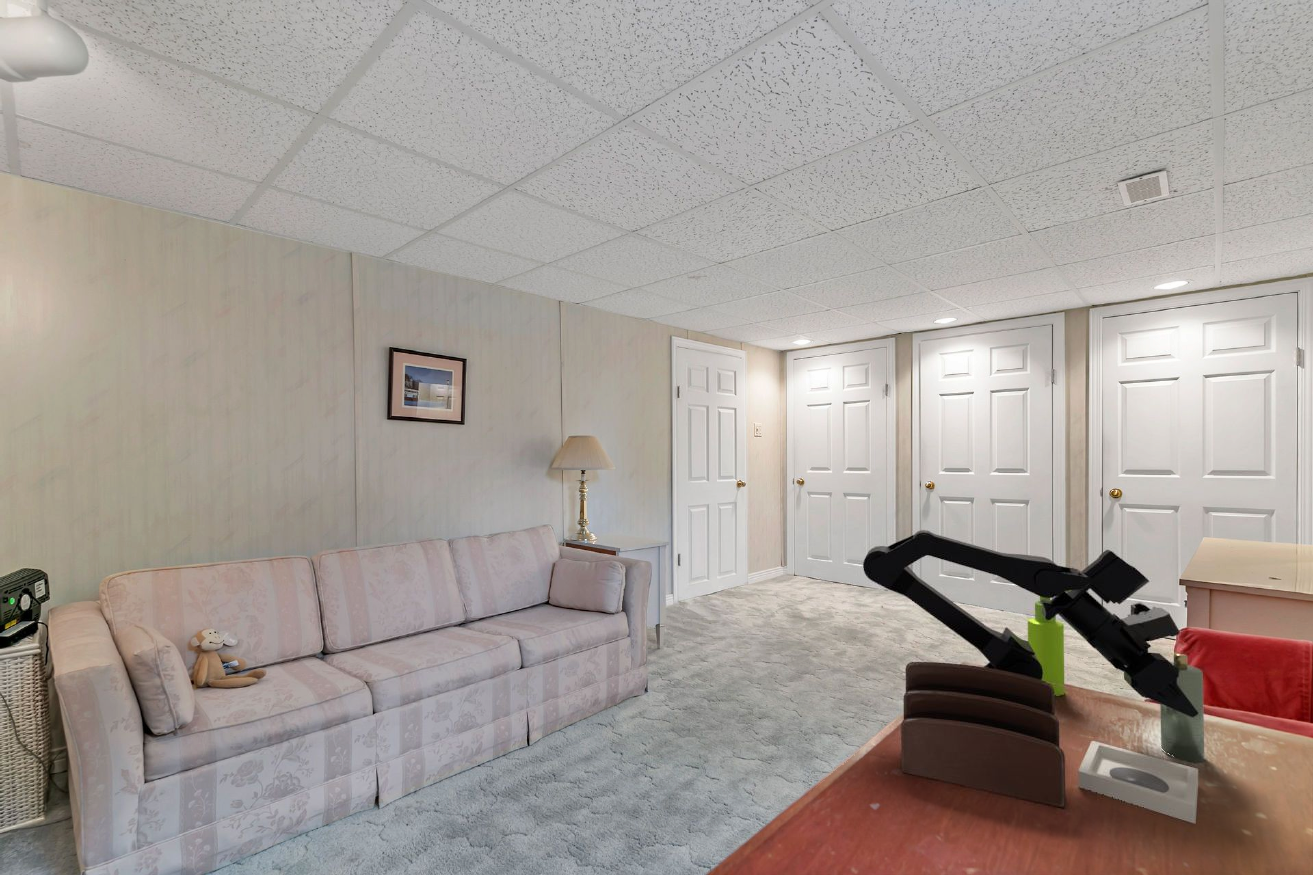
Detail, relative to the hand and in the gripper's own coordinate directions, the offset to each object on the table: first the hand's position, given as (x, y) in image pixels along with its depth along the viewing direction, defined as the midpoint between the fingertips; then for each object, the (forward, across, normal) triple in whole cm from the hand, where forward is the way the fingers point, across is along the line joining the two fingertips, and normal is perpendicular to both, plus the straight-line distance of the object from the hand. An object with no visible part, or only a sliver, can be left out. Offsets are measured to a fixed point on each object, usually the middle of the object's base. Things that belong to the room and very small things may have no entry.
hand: (1182, 703), depth 92 cm
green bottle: (+5, 0, +6) cm, 8 cm away
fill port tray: (-1, -14, +12) cm, 18 cm away
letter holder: (-15, -19, +26) cm, 36 cm away
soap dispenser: (-4, +21, +15) cm, 26 cm away
